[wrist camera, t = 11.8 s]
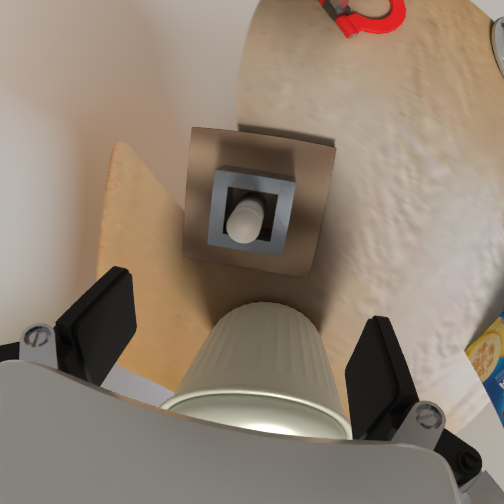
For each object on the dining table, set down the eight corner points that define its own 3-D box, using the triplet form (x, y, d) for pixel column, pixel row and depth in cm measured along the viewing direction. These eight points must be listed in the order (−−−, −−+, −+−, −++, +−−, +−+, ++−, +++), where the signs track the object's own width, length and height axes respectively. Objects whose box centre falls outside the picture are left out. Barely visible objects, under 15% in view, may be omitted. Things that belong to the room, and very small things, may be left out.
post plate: (194, 127, 27) (163, 127, 20) (334, 147, 27) (352, 154, 19) (185, 252, 33) (158, 288, 26) (307, 274, 32) (312, 316, 25)
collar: (223, 165, 28) (214, 169, 25) (295, 176, 27) (296, 182, 24) (215, 231, 31) (207, 244, 27) (282, 243, 30) (281, 257, 27)
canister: (183, 280, 35) (97, 423, 16) (338, 269, 32) (381, 438, 13) (214, 383, 42) (178, 505, 22) (335, 379, 39) (345, 513, 20)
